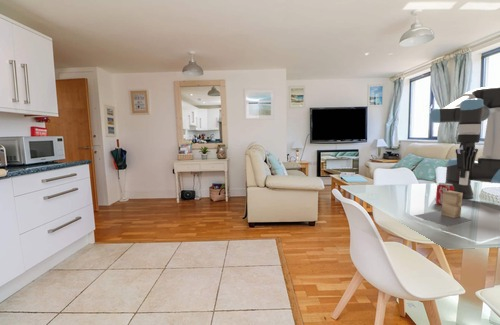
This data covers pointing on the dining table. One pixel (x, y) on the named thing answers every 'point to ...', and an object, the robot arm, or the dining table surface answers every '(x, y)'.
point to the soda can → (441, 189)
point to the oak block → (451, 204)
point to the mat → (442, 218)
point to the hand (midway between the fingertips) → (463, 184)
